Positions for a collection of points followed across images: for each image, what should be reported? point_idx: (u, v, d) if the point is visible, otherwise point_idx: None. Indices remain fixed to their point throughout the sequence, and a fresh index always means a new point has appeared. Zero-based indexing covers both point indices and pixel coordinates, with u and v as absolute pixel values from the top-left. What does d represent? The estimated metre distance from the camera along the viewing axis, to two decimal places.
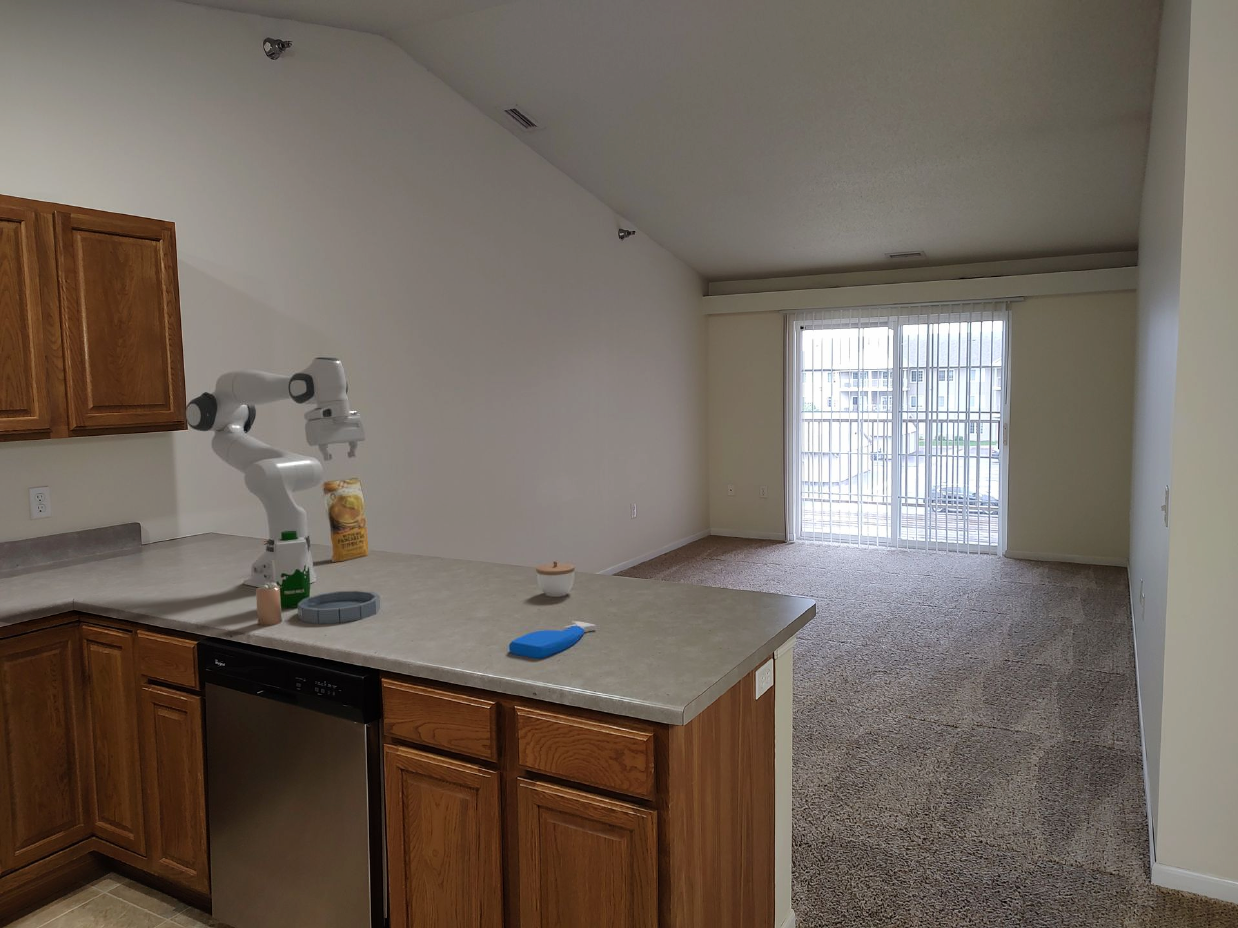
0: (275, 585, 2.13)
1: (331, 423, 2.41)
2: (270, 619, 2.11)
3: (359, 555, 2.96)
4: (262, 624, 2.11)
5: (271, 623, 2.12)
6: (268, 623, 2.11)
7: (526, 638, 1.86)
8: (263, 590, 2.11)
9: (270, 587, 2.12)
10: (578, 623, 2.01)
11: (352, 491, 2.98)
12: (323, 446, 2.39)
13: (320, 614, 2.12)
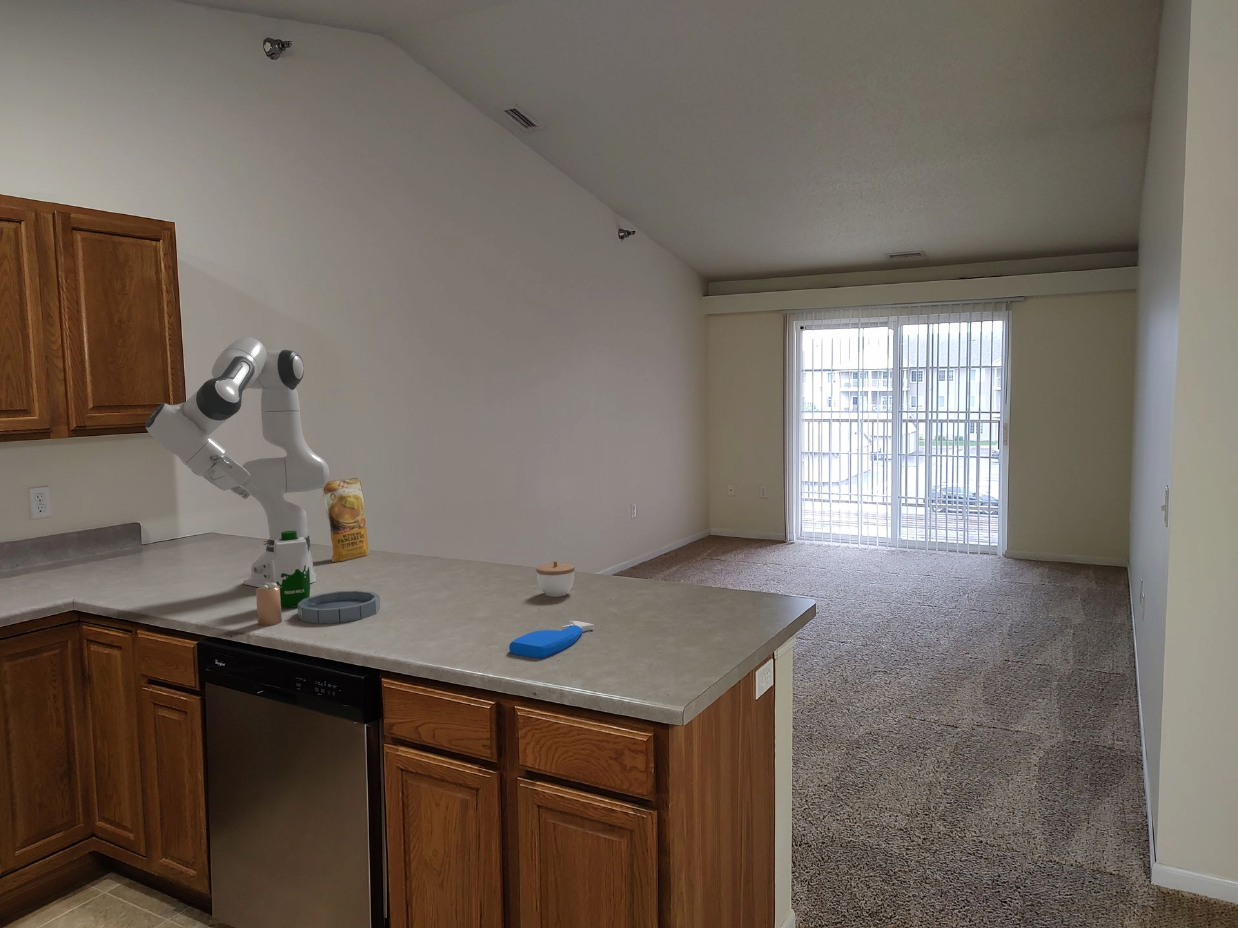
0: (275, 585, 2.13)
1: None
2: (270, 619, 2.11)
3: (359, 555, 2.96)
4: (262, 624, 2.11)
5: (271, 623, 2.12)
6: (268, 623, 2.11)
7: (525, 638, 1.86)
8: (263, 590, 2.11)
9: (270, 587, 2.12)
10: (576, 623, 2.01)
11: (352, 491, 2.98)
12: None
13: (320, 614, 2.12)
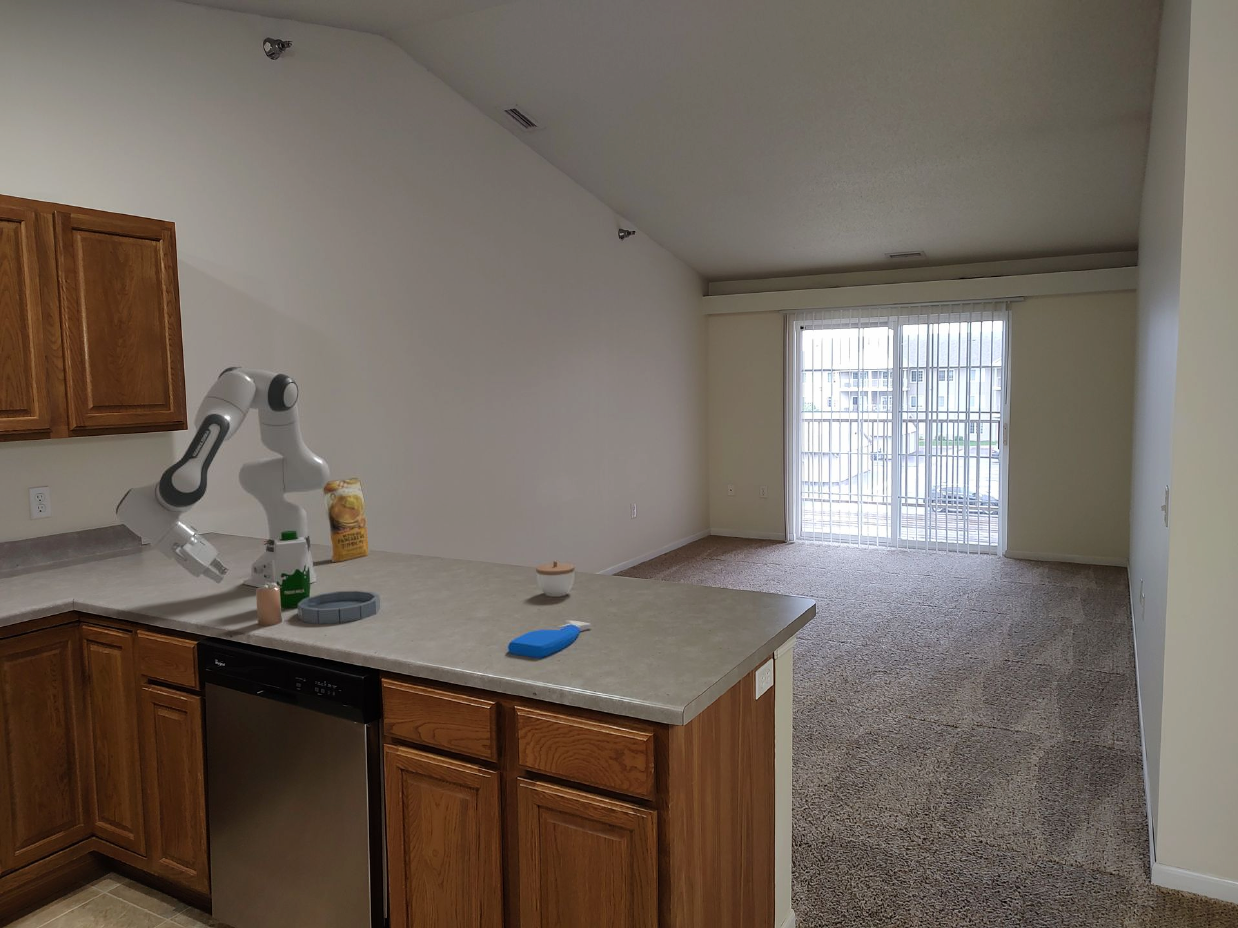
0: (275, 585, 2.13)
1: None
2: (270, 619, 2.11)
3: (359, 555, 2.96)
4: (262, 624, 2.11)
5: (271, 623, 2.12)
6: (268, 623, 2.11)
7: (524, 638, 1.86)
8: (263, 590, 2.11)
9: (270, 587, 2.12)
10: (573, 622, 2.02)
11: (352, 491, 2.98)
12: None
13: (320, 614, 2.12)
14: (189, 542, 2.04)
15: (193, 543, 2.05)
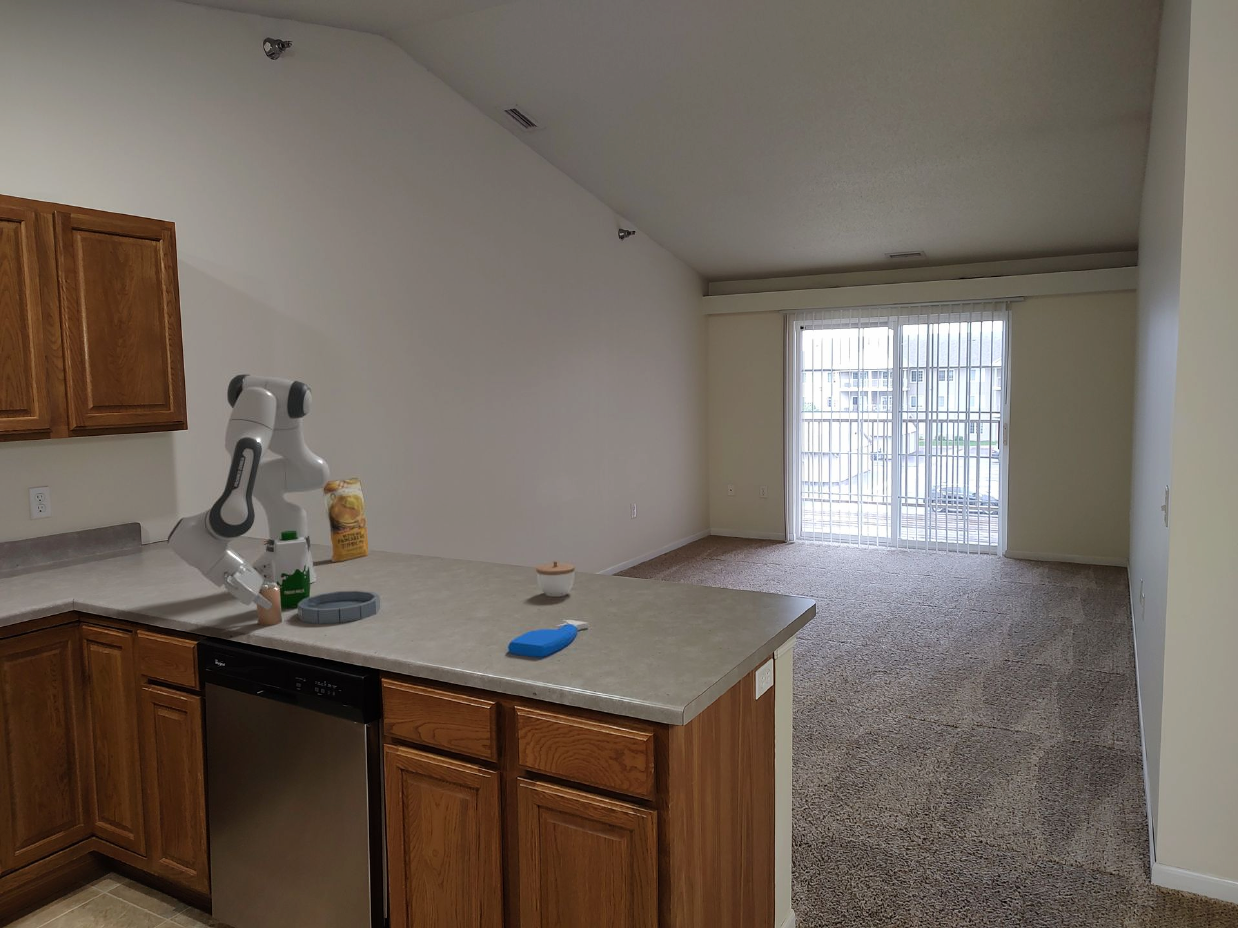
0: (275, 585, 2.13)
1: None
2: (270, 619, 2.11)
3: (359, 555, 2.96)
4: (262, 624, 2.11)
5: (271, 623, 2.12)
6: (268, 623, 2.11)
7: (524, 638, 1.86)
8: (263, 590, 2.11)
9: (270, 587, 2.12)
10: (570, 621, 2.02)
11: (352, 491, 2.98)
12: None
13: (320, 614, 2.12)
14: (238, 570, 2.08)
15: (242, 571, 2.09)
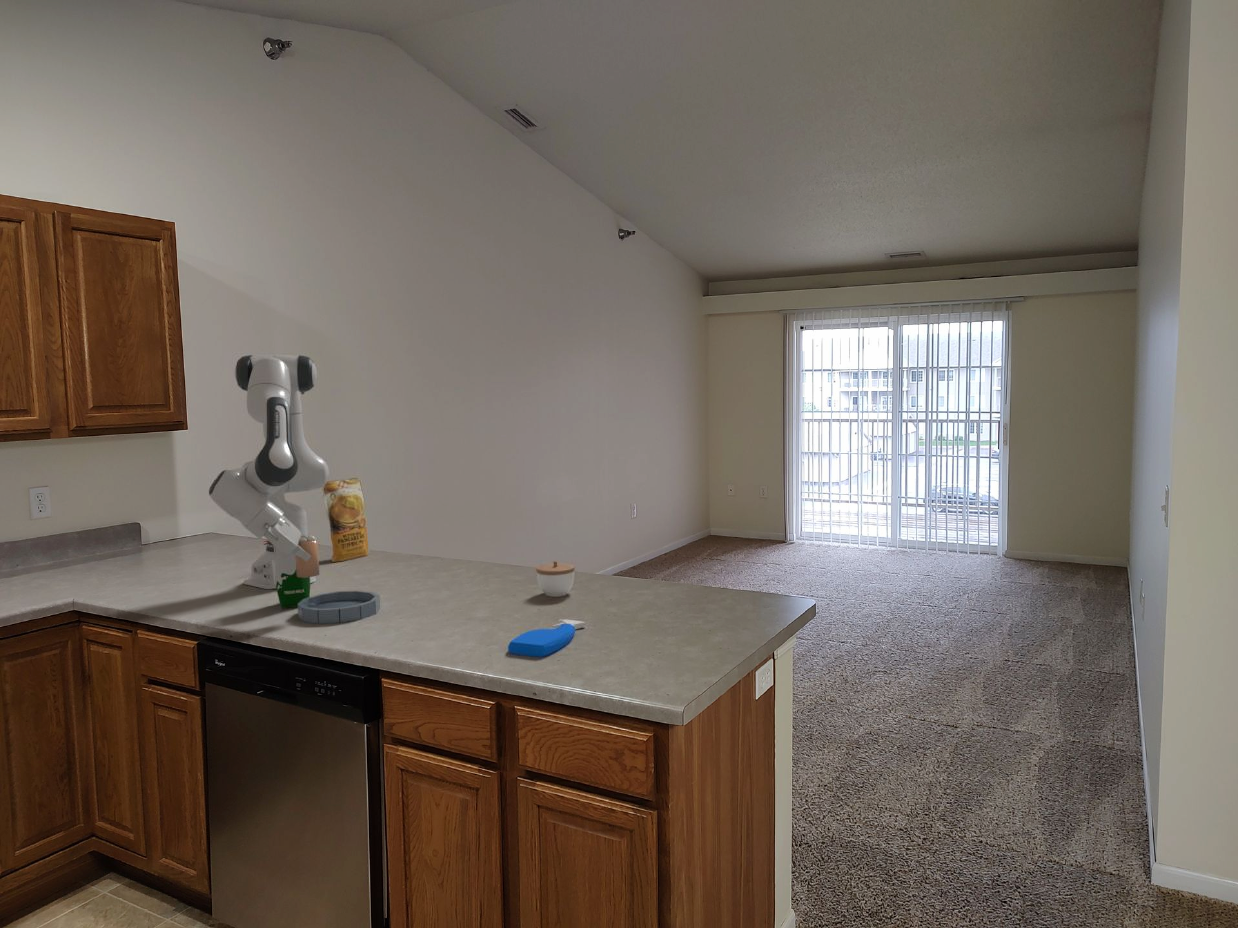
0: (313, 538, 2.17)
1: None
2: (308, 571, 2.15)
3: (359, 555, 2.96)
4: (301, 576, 2.15)
5: (309, 575, 2.15)
6: (307, 574, 2.15)
7: (524, 638, 1.87)
8: (302, 542, 2.14)
9: (308, 540, 2.16)
10: (566, 621, 2.03)
11: (352, 491, 2.98)
12: None
13: (320, 614, 2.12)
14: (278, 522, 2.12)
15: (282, 523, 2.13)
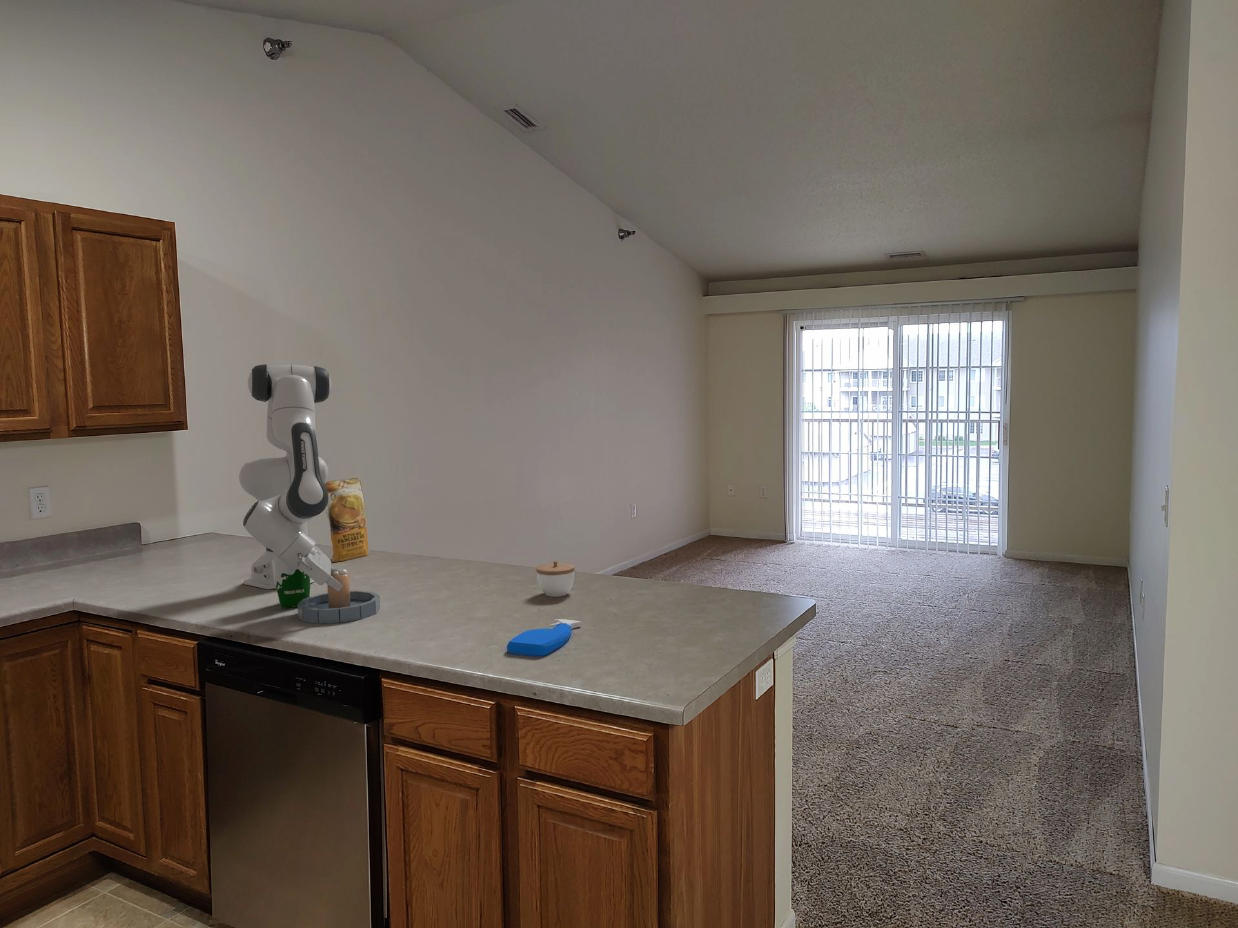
0: (345, 571, 2.21)
1: None
2: (340, 604, 2.19)
3: (359, 555, 2.96)
4: None
5: None
6: (339, 607, 2.19)
7: (522, 637, 1.87)
8: (334, 576, 2.19)
9: (341, 573, 2.20)
10: (562, 621, 2.03)
11: (352, 491, 2.98)
12: None
13: (320, 614, 2.12)
14: (310, 552, 2.16)
15: (314, 553, 2.17)
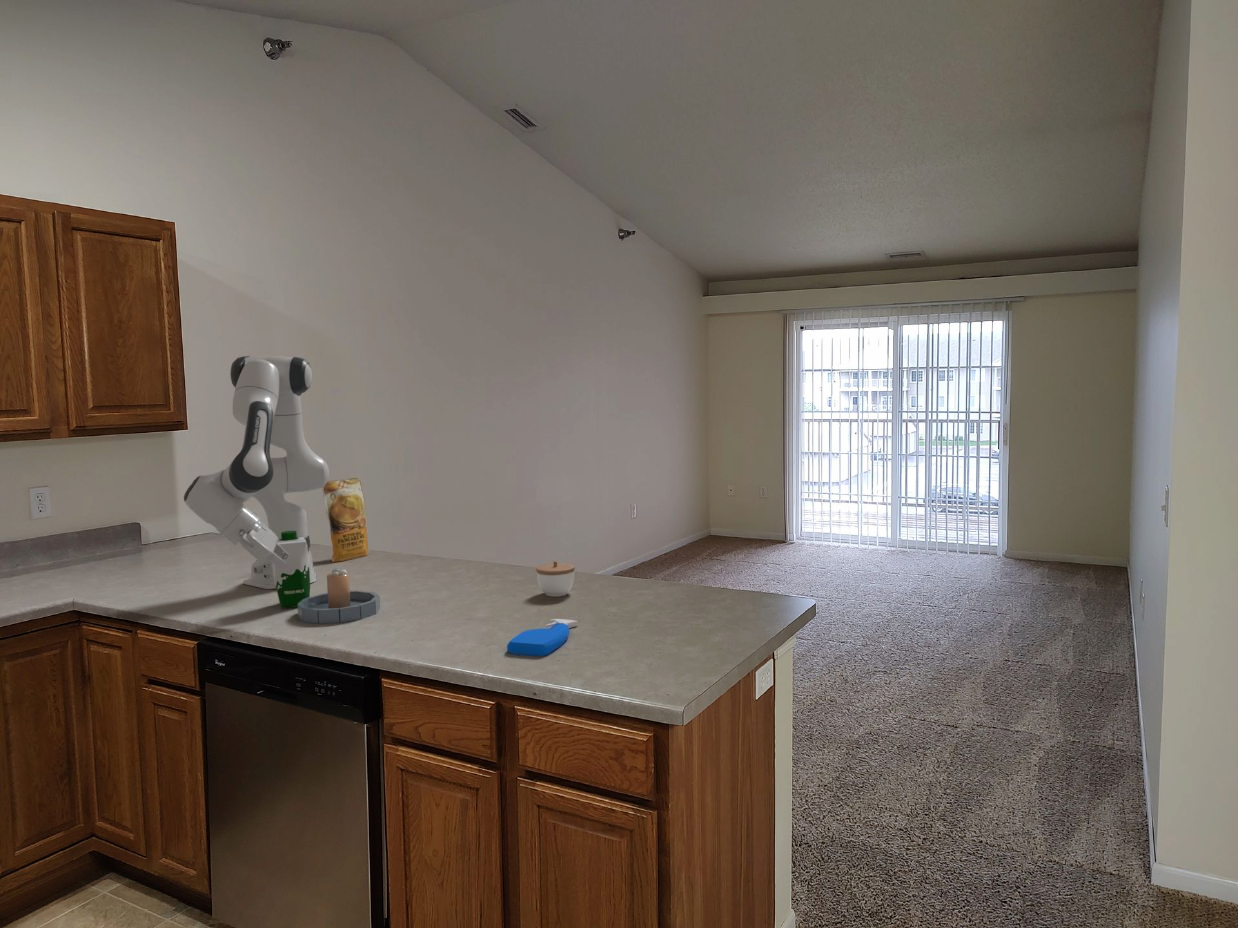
0: (345, 572, 2.21)
1: None
2: (340, 605, 2.19)
3: (359, 555, 2.96)
4: None
5: None
6: None
7: (522, 637, 1.87)
8: (334, 576, 2.19)
9: (340, 574, 2.20)
10: (559, 620, 2.04)
11: (352, 491, 2.98)
12: None
13: (320, 614, 2.12)
14: (254, 528, 2.12)
15: (257, 529, 2.12)
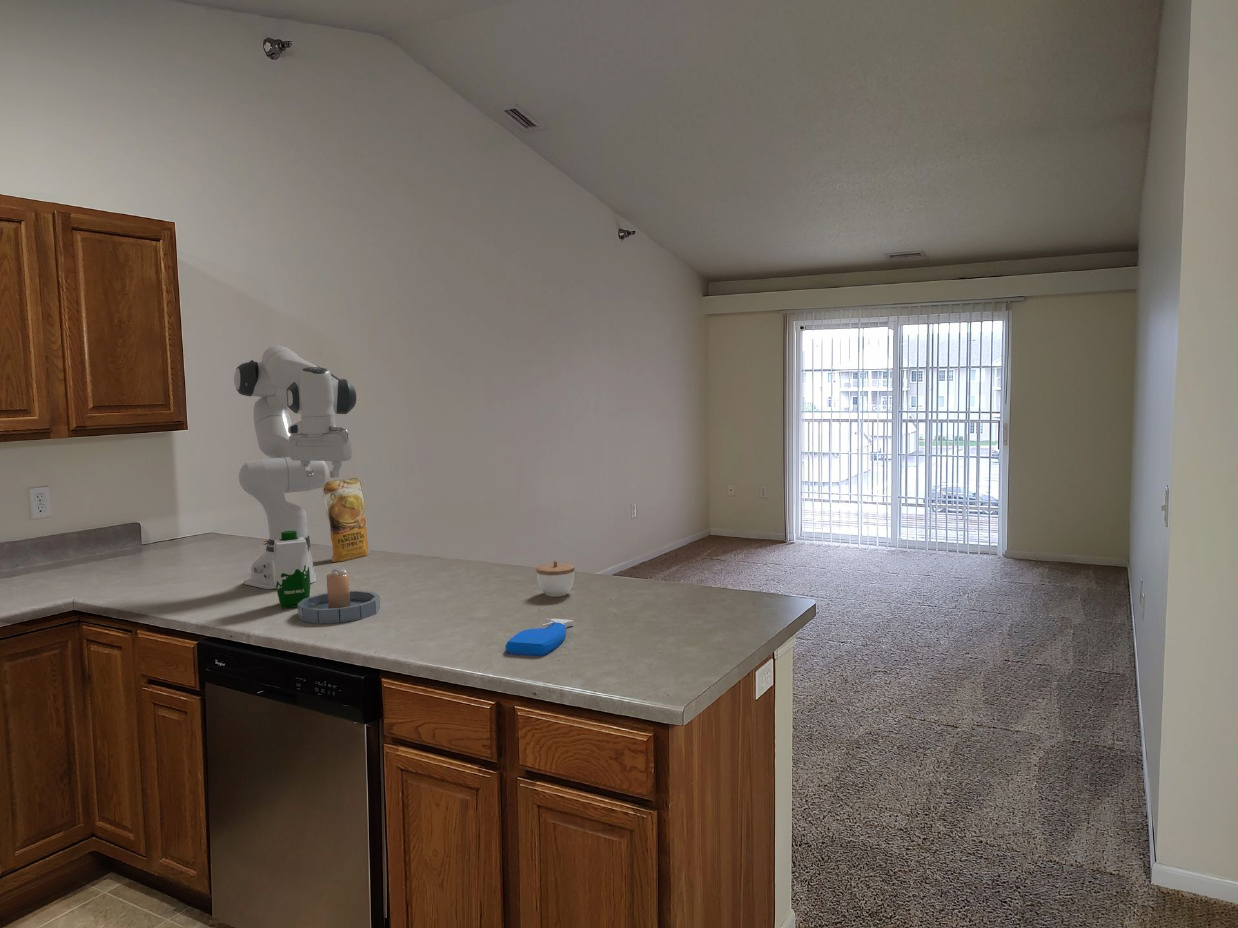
0: (345, 572, 2.21)
1: (304, 439, 2.29)
2: (340, 605, 2.19)
3: (359, 555, 2.96)
4: None
5: None
6: None
7: (520, 637, 1.87)
8: (334, 576, 2.19)
9: (340, 573, 2.20)
10: (555, 620, 2.04)
11: (352, 491, 2.98)
12: None
13: (320, 614, 2.12)
14: None
15: None
